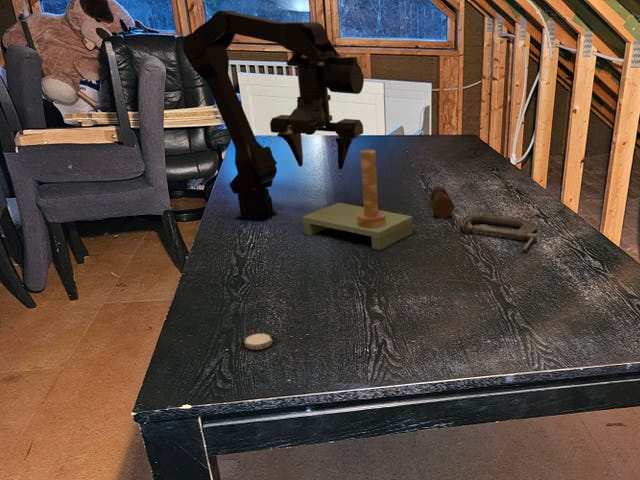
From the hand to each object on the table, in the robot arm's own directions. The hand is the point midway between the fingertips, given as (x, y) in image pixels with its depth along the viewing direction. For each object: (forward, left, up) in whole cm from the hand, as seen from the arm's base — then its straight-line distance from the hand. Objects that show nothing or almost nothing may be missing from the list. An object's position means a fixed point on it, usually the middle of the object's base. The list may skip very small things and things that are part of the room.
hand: (320, 167), depth 142 cm
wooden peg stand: (+14, -7, -9) cm, 18 cm away
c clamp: (+39, +5, -13) cm, 41 cm away
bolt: (+22, +20, -13) cm, 33 cm away
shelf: (+9, -3, -13) cm, 16 cm away
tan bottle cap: (+17, -57, -13) cm, 60 cm away
